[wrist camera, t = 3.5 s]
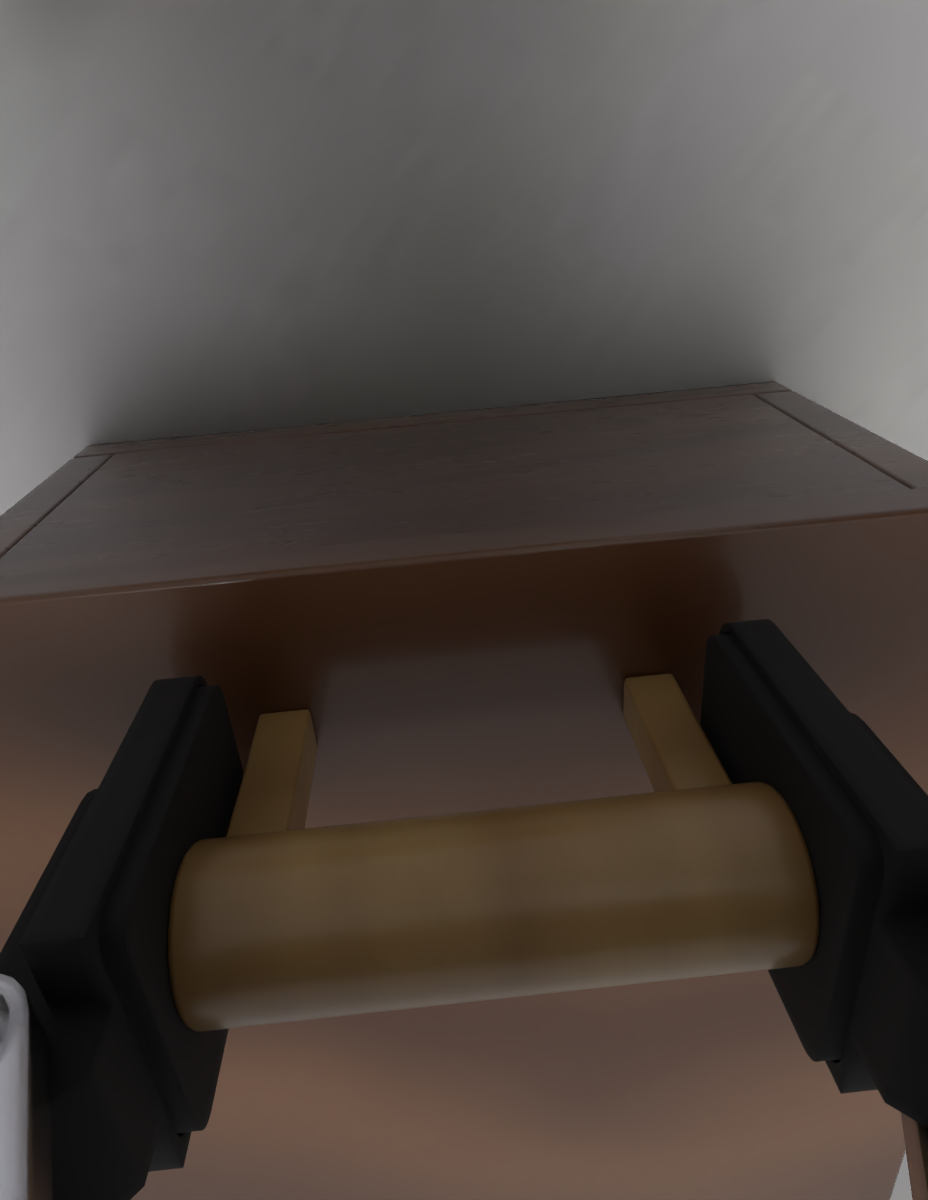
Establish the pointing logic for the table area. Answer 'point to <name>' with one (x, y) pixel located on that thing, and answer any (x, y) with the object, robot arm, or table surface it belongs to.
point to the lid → (488, 847)
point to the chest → (444, 476)
